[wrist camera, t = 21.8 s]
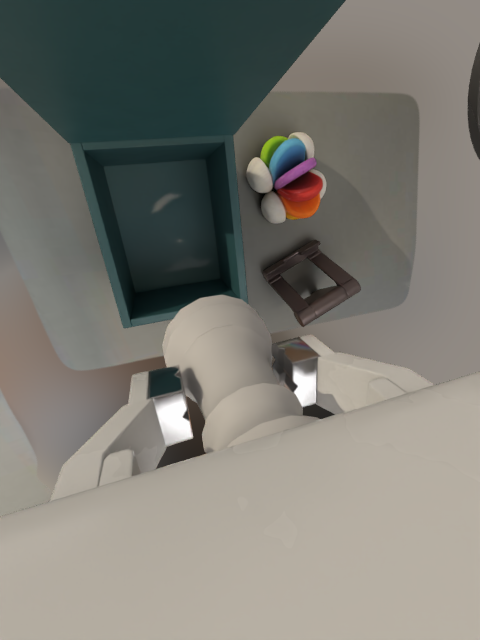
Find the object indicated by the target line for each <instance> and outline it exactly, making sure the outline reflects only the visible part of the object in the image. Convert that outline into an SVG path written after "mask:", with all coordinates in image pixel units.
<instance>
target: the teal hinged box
mask: <svg viewBox="0 0 480 640" xmlns="http://www.w3.org/2000/svg"><path fill="white" fill-rule="evenodd" d="M70 145H71V148H72V151H73V155H74V158H75V162H76V165H77V169H78V172H79V176H80V179H81V183H82V186H83V190H84V193H85V197H86V200H87V203H88V207H89V210H90V214H91V217H92V221H93V224H94V228H95V231H96V235H97V238H98V242H99V245H100V248H101V252H102V255H103V259H104V262H105V266H106V269H107V273H108V276H109V280H110V283H111V287H112V290H113V293H114V297H115V300H116V304H117V307H118V311H119V314H120V318H121V321H122V325H123V328H129V327H134V326H139V325H145V324H150V323H155V322H160V321H165V320H170V319H173V318H174V317H175V316H176V315H177V313H178V312H179V311H180V310H181V309H182V308H184V307H185V306H187V305H189V304H191V303H192V302H194V301H196V300H198V299H199V298H203V297H210V296H216V295H225V296H229V297H233V298H238V299H242V300H243V301H244V302H246V303H247V304H248V296H247V285H246V274H245V263H244V252H243V241H242V230H241V219H240V208H239V197H238V185H237V174H236V163H235V152H234V141H233V135H216V136H197V137H178V138H160V139H141V140H122V141H103V142H85V143H70Z"/></svg>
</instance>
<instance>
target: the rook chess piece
mask: <svg viewBox="0 0 480 640" xmlns="http://www.w3.org/2000/svg"><path fill="white" fill-rule="evenodd" d="M162 347H163V352H164V357H165V362H166V365H167V367H171V366H175V365H179V367H180V371H181V375H182V381H183V386H184V389H185V394H186V396H188V397H190V398H191V400H193V401H195V402H197V404H198V405H199V408H200V410H201V412H202V414H203V417H204V419H205V421H206V423H205V426H204V429H203V433H202V439H203V445H204V451H205V452H206V453H207V454H208V453H211V452H214V451H218V450H221V449H224V448H228V447H231V446H234V445H238V444H241V443H244V442H248V441H251V440H254V439H258V438H261V437H264V436H267V435H271V434H274V433H277V432H281V431H284V430H287V429H291V428H294V427H297V426H301V425H304V424H307V423H310V422H314V421H317V420H320V419H319V418H316V417H308V416H302V414H303V410H302V409H303V407H302V405H301V404H300V402H299V400H298V398H297V396H296V394H295V393H293V392H291V391H290V390H288V389H287V388H285V387H284V386H282V385H279V383H278V382H277V380H276V377H275V375H274V373H273V371H272V369H271V368H272V363H271V361H272V351H271V348H272V339H271V335H270V333H269V331H268V329H267V327H266V325H265V323H264V321H263V319H261V318H260V317H259V315H258V313H257V311H256V310H255V309H253V308H252V307H251V306H249V305H248V304H247V303H246V302H244V301H243V300H242V299H238V298H233V297H229V296H225V295H216V296H210V297H203V298H199V299H198V300H196V301H194V302H192V303H191V304H189V305H187V306H185V307H184V308H182V309H181V310H180V311H179V312H178V313H177V315H176V316H175V317H174V318H173V320H172V321H171V322H170V324H169V325H168V326H167V329H166V333H165V337H164V341H163V345H162Z"/></svg>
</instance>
